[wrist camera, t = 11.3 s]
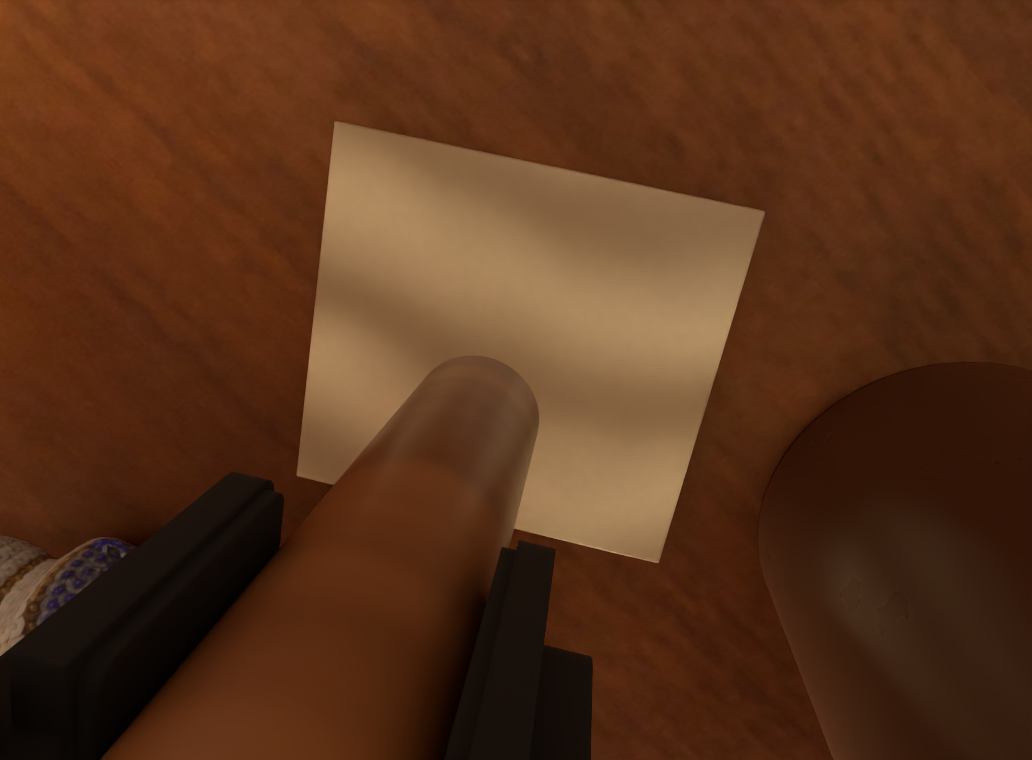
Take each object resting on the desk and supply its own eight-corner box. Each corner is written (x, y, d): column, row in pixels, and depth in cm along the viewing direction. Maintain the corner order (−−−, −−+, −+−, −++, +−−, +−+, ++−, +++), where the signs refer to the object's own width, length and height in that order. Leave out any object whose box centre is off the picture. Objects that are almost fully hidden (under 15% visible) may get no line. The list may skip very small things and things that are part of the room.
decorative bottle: (545, 689, 27) (525, 848, 21) (466, 812, 30) (428, 987, 23) (-56, 394, 27) (-261, 467, 20) (-85, 545, 29) (-277, 651, 23)
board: (347, 123, 22) (334, 120, 21) (757, 209, 21) (766, 211, 20) (309, 463, 26) (295, 476, 25) (656, 546, 25) (658, 564, 24)
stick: (424, 342, 17) (-44, 796, 5) (551, 370, 17) (410, 921, 5) (405, 458, 18) (-23, 1085, 6) (525, 487, 18) (351, 1197, 6)
